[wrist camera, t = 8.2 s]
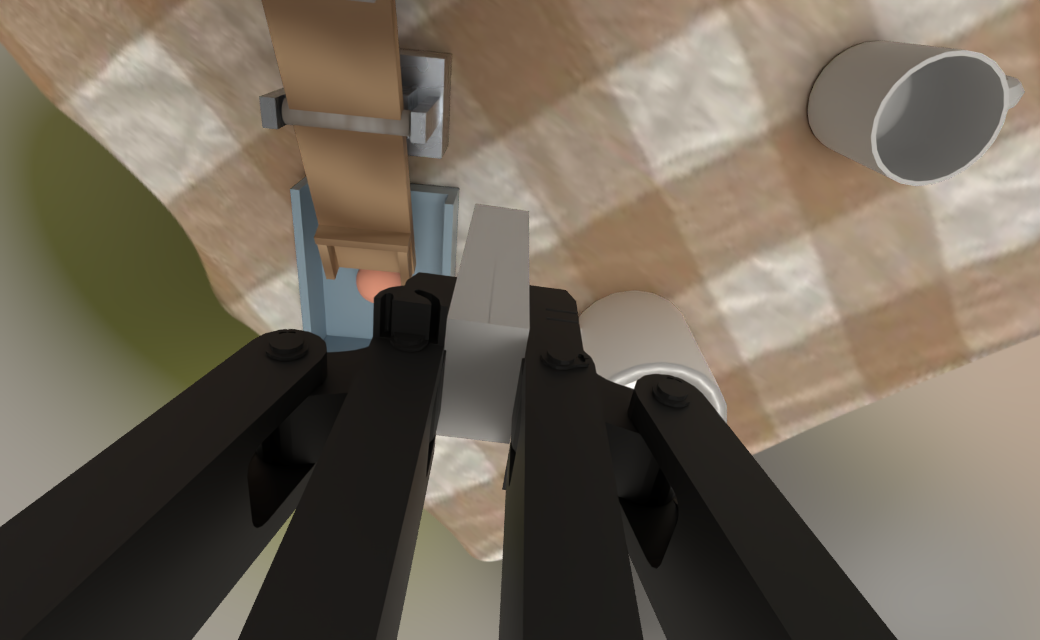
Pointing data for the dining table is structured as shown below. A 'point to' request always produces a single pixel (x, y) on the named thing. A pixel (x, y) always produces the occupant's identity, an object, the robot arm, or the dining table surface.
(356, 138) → the lever
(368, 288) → the ball
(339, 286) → the tray
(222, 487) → the robot arm
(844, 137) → the cup
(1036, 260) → the dining table surface
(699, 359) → the mug
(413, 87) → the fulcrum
